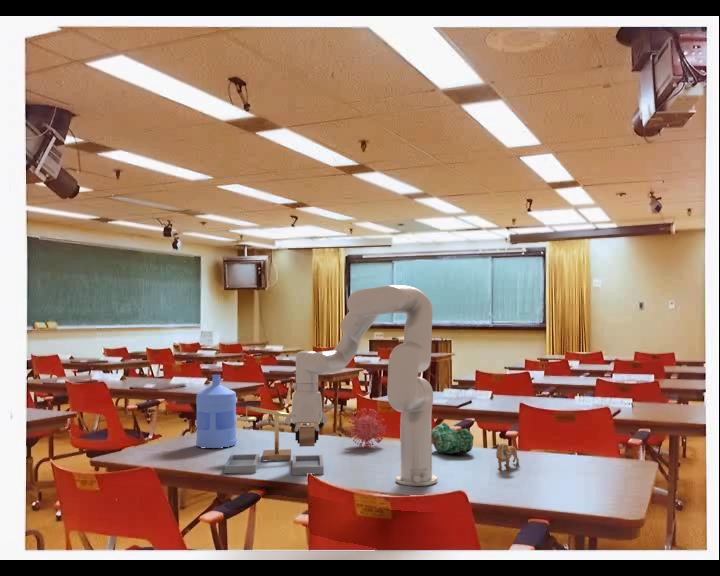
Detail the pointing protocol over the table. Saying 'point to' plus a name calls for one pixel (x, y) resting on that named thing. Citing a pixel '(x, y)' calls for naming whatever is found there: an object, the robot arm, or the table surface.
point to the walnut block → (306, 436)
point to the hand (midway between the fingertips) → (307, 442)
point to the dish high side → (242, 463)
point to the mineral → (451, 439)
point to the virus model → (367, 428)
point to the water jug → (216, 416)
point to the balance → (276, 453)
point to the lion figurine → (506, 455)
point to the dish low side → (307, 464)
